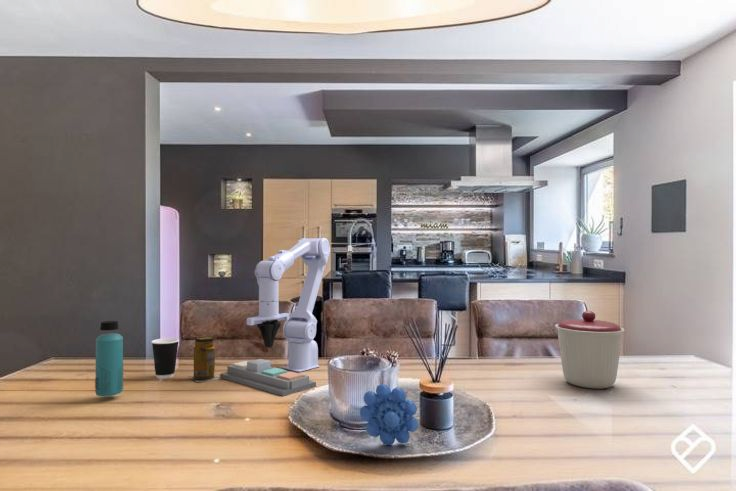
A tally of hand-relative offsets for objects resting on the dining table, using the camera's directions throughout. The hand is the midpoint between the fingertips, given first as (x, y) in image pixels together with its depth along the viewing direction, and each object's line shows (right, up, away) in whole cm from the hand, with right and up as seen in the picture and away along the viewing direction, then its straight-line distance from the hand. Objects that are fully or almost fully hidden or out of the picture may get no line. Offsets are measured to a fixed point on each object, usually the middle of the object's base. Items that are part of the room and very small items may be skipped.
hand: (268, 346), depth 138 cm
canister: (+93, -10, -4) cm, 94 cm away
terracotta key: (+8, -8, -9) cm, 14 cm away
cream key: (-8, -8, +5) cm, 13 cm away
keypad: (0, -10, -2) cm, 10 cm away
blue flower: (+34, -9, -48) cm, 60 cm away
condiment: (-20, -10, +2) cm, 22 cm away
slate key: (-3, -7, 0) cm, 7 cm away
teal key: (+2, -8, -4) cm, 10 cm away
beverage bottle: (-37, -10, -18) cm, 43 cm away
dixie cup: (-32, -10, +4) cm, 34 cm away
